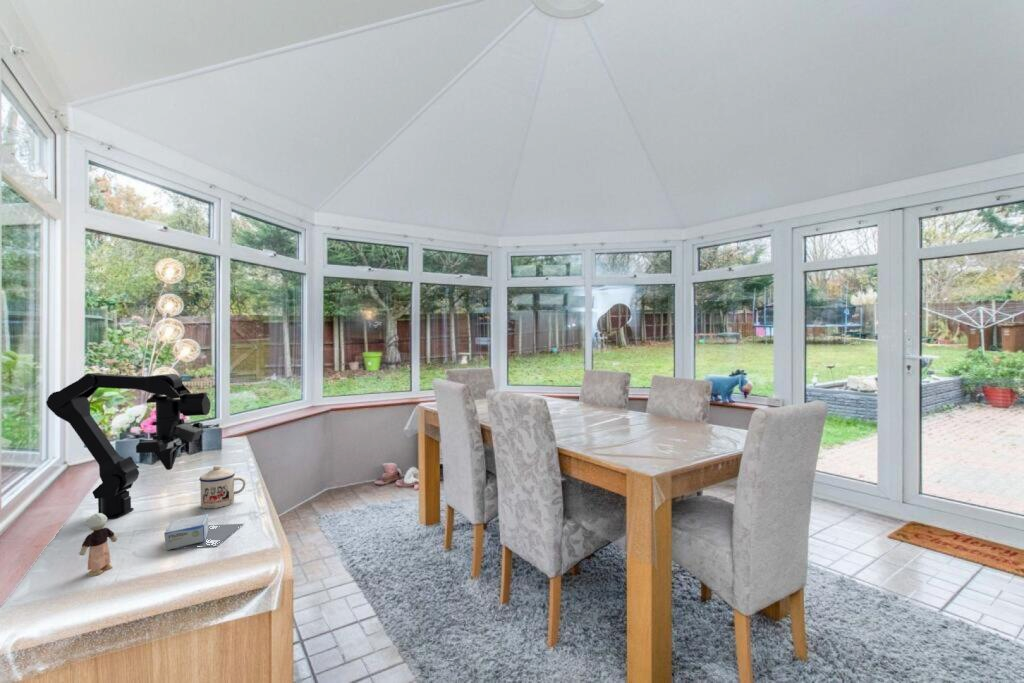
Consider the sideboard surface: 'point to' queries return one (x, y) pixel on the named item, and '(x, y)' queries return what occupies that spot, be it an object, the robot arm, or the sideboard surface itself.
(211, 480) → the teacup with lid
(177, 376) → the robot arm
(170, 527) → the medicine box
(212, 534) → the rubber mat
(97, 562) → the grandmother figurine
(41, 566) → the sideboard surface
